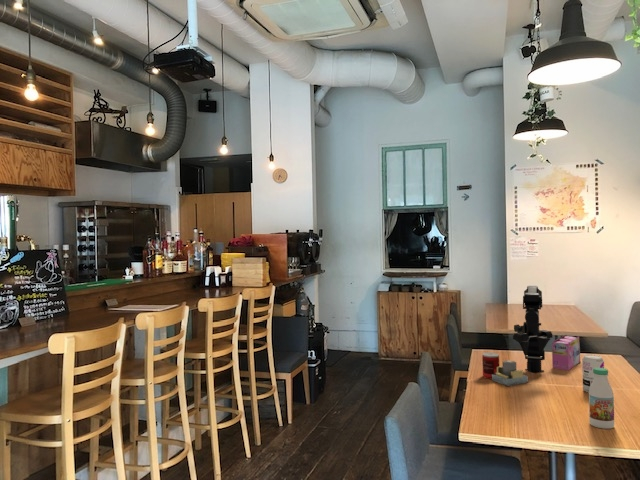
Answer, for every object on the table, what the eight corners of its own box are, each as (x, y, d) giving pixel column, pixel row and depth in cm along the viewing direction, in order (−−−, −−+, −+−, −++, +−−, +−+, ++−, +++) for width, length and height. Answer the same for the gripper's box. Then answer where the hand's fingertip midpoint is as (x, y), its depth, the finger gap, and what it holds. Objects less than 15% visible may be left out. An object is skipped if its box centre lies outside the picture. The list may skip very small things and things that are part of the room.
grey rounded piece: (509, 372, 237) (509, 359, 237) (519, 375, 231) (519, 361, 231) (500, 374, 235) (499, 360, 235) (509, 377, 229) (509, 363, 229)
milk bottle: (584, 422, 180) (583, 366, 180) (605, 420, 181) (603, 365, 181) (598, 430, 173) (597, 372, 173) (619, 428, 173) (618, 371, 173)
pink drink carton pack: (565, 359, 273) (564, 334, 273) (581, 361, 268) (580, 336, 268) (552, 368, 255) (551, 341, 255) (568, 370, 250) (568, 343, 250)
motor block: (514, 376, 241) (514, 364, 241) (530, 381, 232) (530, 369, 232) (492, 380, 235) (491, 367, 235) (507, 385, 226) (507, 372, 226)
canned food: (497, 374, 245) (496, 352, 245) (501, 379, 237) (500, 356, 237) (481, 374, 246) (480, 352, 246) (484, 379, 238) (484, 356, 238)
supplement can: (606, 391, 215) (606, 356, 215) (601, 395, 209) (600, 360, 209) (586, 387, 221) (585, 353, 221) (580, 392, 215) (579, 357, 215)
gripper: (534, 316, 243) (535, 348, 243) (504, 319, 236) (504, 352, 236) (552, 319, 232) (553, 353, 232) (521, 323, 225) (522, 357, 225)
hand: (533, 354), depth 232 cm, fingers open, 9 cm apart
